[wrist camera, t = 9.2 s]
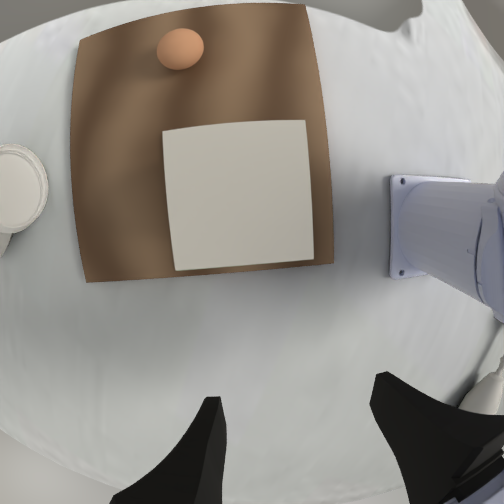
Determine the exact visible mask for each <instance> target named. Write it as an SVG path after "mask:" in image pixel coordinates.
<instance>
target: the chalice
mask: <svg viewBox="0 0 504 504" xmlns="http://www.w3.org/2000/svg"><path fill="white" fill-rule="evenodd" d="M503 369H504V355H503V357H501V358H500V364H499V368H498V369H497V370H496V372H491V373H489V374H488V375H487V376H486V377H484V378H483V379H482V380H481V381H480V382H479V383H477V384H476V385H475V386H474V387H473V388H472V389H471V390H470V391H469V392H468V393H467V394H466V396H465V397H464V399H463V401H462V402H461V404H460V406H459V407H458V409H462V410H466V411H469V412H474V413H480V414H487V415H495V414H496V412H497V410H498V407H499V404H500V401H501V397H502V391H503V385H504V379H503V377H502V376H501V375H502V372H503Z"/></svg>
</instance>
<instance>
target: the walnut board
mask: <svg viewBox="0 0 504 504" xmlns="http://www.w3.org/2000/svg"><path fill="white" fill-rule="evenodd" d="M181 28H184V29H190V30H193V31H194V32H196V33H197V34H198V35H199V36H200V37H201V39H202V41H203V45H204V50H203V54H202V56H201V58H200V59H199V60H198V62H197V63H195V64H194V65H193V66H191V67H189V68H186V69H182V70H173V69H170V68H167V67H165V66H164V65H163V64H162V63H161V62H160V61H159V59H158V57H157V46H158V43H159V41H160V40H161V38H162V37H163V36H164V35H165V34H167V33H168V32H170V31H172V30H175V29H181ZM269 120H305V122H306V132H307V143H308V155H309V168H310V182H311V198H312V219H313V246H314V259H310V260H300V261H289V262H278V263H266V264H255V265H243V266H231V267H219V268H207V269H194V270H182V271H176V270H175V264H174V257H173V250H172V242H171V234H170V225H169V216H168V206H167V195H166V184H165V170H164V154H163V133H162V131H168V130H174V129H181V128H188V127H195V126H204V125H213V124H223V123H234V122H249V121H269ZM70 159H71V181H72V194H73V205H74V214H75V222H76V229H77V236H78V242H79V248H80V254H81V259H82V264H83V269H84V274H85V279H86V283H88V282H106V281H123V280H139V279H154V278H168V277H182V276H196V275H209V274H221V273H234V272H245V271H257V270H268V269H279V268H290V267H301V266H311V265H321V264H331V263H334V234H333V205H332V187H331V172H330V159H329V148H328V138H327V128H326V120H325V112H324V104H323V97H322V90H321V83H320V77H319V70H318V65H317V59H316V53H315V48H314V43H313V38H312V33H311V28H310V24H309V19H308V15H307V11H306V6H305V5H303V4H288V3H240V4H225V5H214V6H205V7H198V8H191V9H185V10H179V11H174V12H169V13H164V14H159V15H155V16H151V17H147V18H143V19H139V20H136V21H132V22H129V23H125V24H122V25H119V26H116V27H113V28H110V29H107V30H104V31H102V32H99V33H96V34H94V35H91V36H89V37H86V38H84V39H81V40H80V43H79V48H78V54H77V60H76V67H75V74H74V83H73V93H72V105H71V127H70Z"/></svg>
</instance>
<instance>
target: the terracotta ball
mask: <svg viewBox="0 0 504 504" xmlns="http://www.w3.org/2000/svg"><path fill="white" fill-rule="evenodd" d="M203 50H204V45H203V41H202V39H201V37H200V36H199V35H198V34H197V33H196V32H194V31H193V30H190V29H184V28H181V29H175V30H172V31H170V32H168V33H167V34H165V35H164V36H163V37H162V38H161V40H160V41H159V43H158V46H157V57H158V59H159V61H160V62H161V63H162V64H163V65H164V66H165V67H167V68H170V69H173V70H182V69H186V68H189V67H191V66H193V65H194V64H195V63H197V62H198V60H199V59H200V58H201V56H202V54H203Z"/></svg>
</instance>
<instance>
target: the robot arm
mask: <svg viewBox="0 0 504 504" xmlns="http://www.w3.org/2000/svg"><path fill="white" fill-rule="evenodd" d="M401 178H402V180H403V184H401V183H400V179H401ZM390 195H391V251H390V271H389V274H390V277H391V278H393V279H395V280H397V279H403V278H409V277H415V276H421V275H427V274H429V275H431V276H433V277H435V278H437V279H439V280H441V281H443V282H445V283H447V284H448V285H450V286H452V287H454V288H456V289H458V290H460V291H461V292H463V293H465V294H467V295H469V296H471V297H472V298H474V299H476V300H478V301H479V302H481V303H483V304H485V305H486V306H488V307H490V308H491V309H492V310H493V313H494V318H496V319H497V320H499V321H501V322H502V323H504V171H503V173H502V174H501V176H500V178H499V179H498V180H497V182H496V184H487V183H472V182H471V181H470V180H469V179H459V178H447V177H434V176H418V175H392V176H391V178H390ZM400 270H402V273H401V274H400V275H399V272H400ZM370 407H371V410H372V413H373V415H374V418H375V420H376V422H377V424H378V426H379V428H380V430H381V431H382V433H383V435H384V437H385V439H386V440H387V442H388V444H389V446H390V447H391V449H392V451H393V453H394V455H395V457H396V460H397V462H398V465H399V468H400V470H401V473H402V476H403V480H404V483H405V486H406V490H407V494H408V498H409V503H410V504H504V458H503V457H502V455H503V454H504V451H503V450H502V449H501V448H502V447H503V445H504V415H487V414H480V413H474V412H469V411H466V410H462V409H458V408H455V407H452V406H450V405H447V404H444V403H442V402H440V401H437V400H435V399H433V398H431V397H429V396H427V395H426V394H424V393H422V392H420V391H418V390H417V389H415V388H413V387H412V386H410V385H409V384H407V383H405V382H404V381H402V380H401V379H399V378H397V377H396V376H394V375H393V374H391V373H389V372H388V371H386V372H383V373H379V374H376V378H375V382H374V387H373V391H372V395H371V400H370ZM226 445H227V433H226V421H225V417H224V412H223V407H222V402H221V397H220V396H218V397H206V398H205V399H204V401H203V403H202V405H201V407H200V409H199V411H198V413H197V415H196V417H195V418H194V420H193V422H192V423H191V425H190V427H189V428H188V430H187V431H186V433H185V434H184V435H183V437H182V438H181V440H180V441H179V442H178V444H177V445H176V446H175V447H174V448H173V450H172V451H171V452H170V453H169V454H168V455H167V456H166V457H165V458H164V459H163V460H162V461H161V462H160V463H159V464H158V465H157V466H156V467H155V468H154V469H153V470H152V471H150V472H149V473H148V474H146V475H145V476H144V477H142V478H141V479H140V480H138V481H137V482H136V483H134V484H133V485H131V486H129V487H128V488H126V489H124V490H122V491H121V492H119V493H117V494H115V495H113V497H112V500H111V501H110V503H109V504H222V481H223V472H224V463H225V454H226Z"/></svg>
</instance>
